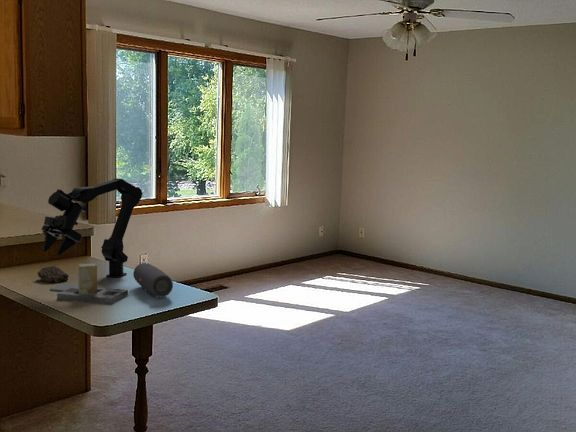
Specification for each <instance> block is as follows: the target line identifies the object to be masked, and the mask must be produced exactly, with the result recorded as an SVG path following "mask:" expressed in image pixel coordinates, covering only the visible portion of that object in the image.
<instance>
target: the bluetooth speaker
mask: <svg viewBox="0 0 576 432" xmlns="http://www.w3.org/2000/svg"><path fill="white" fill-rule="evenodd" d="M132 274H133V275H132V276H133V279H134V280H135V281H136V283H137V284H139V286H140V287H142V288H143V289H144V291H146V292H147V294H149V295H150V296H151V297H158V298H163V297H167V296H168V295H170V294H171V292H172V290H173V287H174V282H173V280H172V279H171V277H170V276H169V275H167V273H166V272H164V271H163V270H162V269H159V268H158V267H157V266H155V265H153V264H151V263H146V262H142V263H139V264H137V265H136V267H134V270H133V273H132Z"/></svg>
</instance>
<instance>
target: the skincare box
mask: <svg viewBox="0 0 576 432" xmlns="http://www.w3.org/2000/svg"><path fill="white" fill-rule="evenodd" d="M77 265H78V267H77V268H78V269H77V270H78V271H77V273H78V278H77V281H78V284H79V294H85V295H93V294H95V293H97V287H98V266H97V264H96V263H95V262H93V263H79V264H77Z"/></svg>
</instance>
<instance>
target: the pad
mask: <svg viewBox="0 0 576 432" xmlns="http://www.w3.org/2000/svg"><path fill="white" fill-rule="evenodd" d="M74 286H79V283H78V284H77V283H67V282H65V283H64V282H63V283H61V284H59V285H58V284H57V285H56V286H54V287H50V288H49V291H52V292H62V291H65V290H67V289H69V288H71V287H74Z"/></svg>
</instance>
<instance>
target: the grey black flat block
mask: <svg viewBox="0 0 576 432" xmlns="http://www.w3.org/2000/svg"><path fill="white" fill-rule="evenodd" d="M128 295H129V290H128V289H119V288H110V287H109V288H108V287H99V286H97V293H95V294H93V295H85V294H79V286H74V287H71V288H69V289H67V290H65V291H59V292H58V293H56V299H57V300H62V299H63V300H64V301H74V302H76V301H77V302H85V303H88V302H89V303H98V304H108V305H113V304H114V303H117V302H118V301H121V300H122V299H124V298H125V297H128Z"/></svg>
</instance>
